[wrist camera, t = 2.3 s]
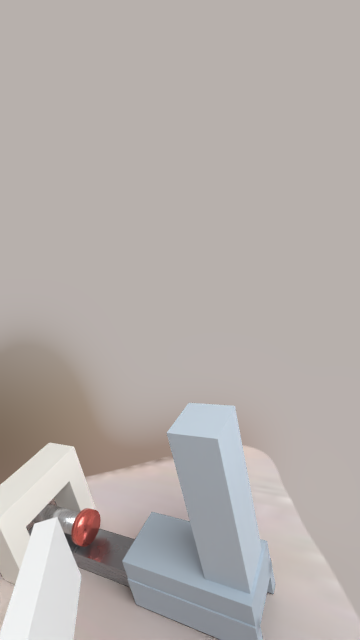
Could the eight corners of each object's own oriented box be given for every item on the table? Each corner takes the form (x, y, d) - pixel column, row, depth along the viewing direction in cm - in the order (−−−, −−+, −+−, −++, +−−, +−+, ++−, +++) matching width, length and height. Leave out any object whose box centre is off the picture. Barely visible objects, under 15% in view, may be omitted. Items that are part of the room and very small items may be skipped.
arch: (4, 579, 34) (-30, 511, 32) (71, 501, 43) (49, 442, 40) (30, 592, 33) (-4, 520, 30) (95, 508, 41) (73, 446, 38)
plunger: (23, 532, 37) (12, 509, 36) (45, 508, 39) (36, 486, 38) (83, 554, 32) (73, 529, 32) (103, 526, 35) (95, 502, 34)
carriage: (136, 604, 29) (75, 429, 24) (164, 549, 34) (116, 392, 29) (261, 656, 24) (216, 448, 19) (275, 584, 29) (241, 399, 23)
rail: (31, 548, 37) (25, 534, 37) (51, 525, 40) (45, 512, 39) (239, 630, 26) (235, 612, 26) (249, 590, 29) (245, 573, 28)
